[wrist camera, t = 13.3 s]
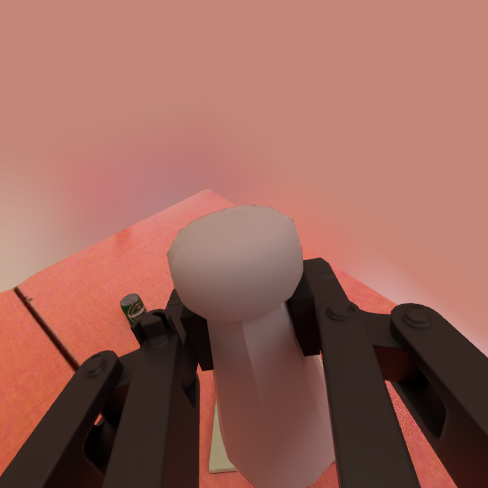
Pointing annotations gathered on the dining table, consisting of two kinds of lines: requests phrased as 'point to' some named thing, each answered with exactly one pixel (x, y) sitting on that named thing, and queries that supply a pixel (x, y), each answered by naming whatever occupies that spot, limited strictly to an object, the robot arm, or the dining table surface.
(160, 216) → the dining table surface
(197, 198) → the dining table surface
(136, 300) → the beer can
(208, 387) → the dining table surface
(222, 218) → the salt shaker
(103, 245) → the dining table surface
